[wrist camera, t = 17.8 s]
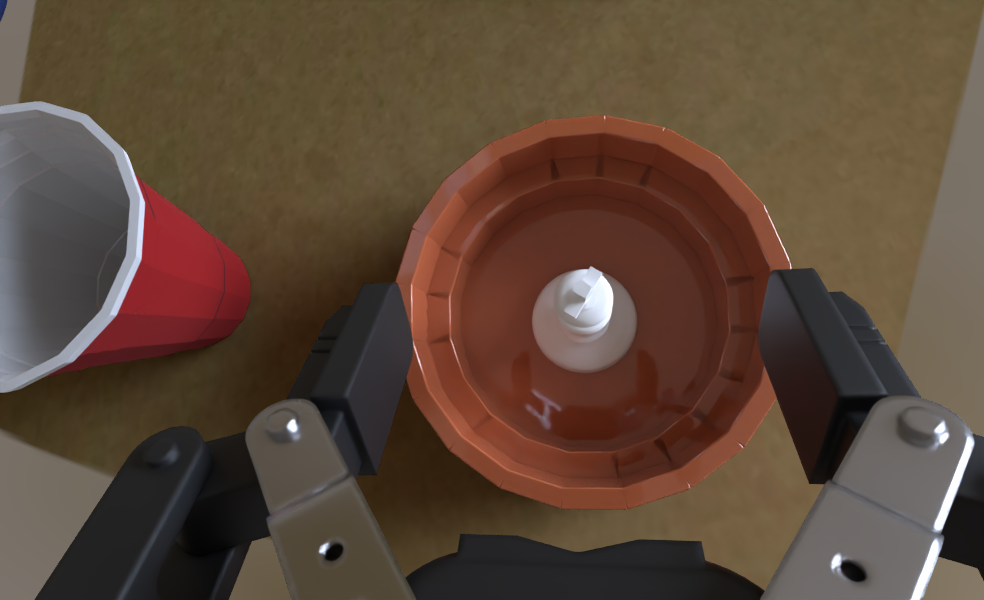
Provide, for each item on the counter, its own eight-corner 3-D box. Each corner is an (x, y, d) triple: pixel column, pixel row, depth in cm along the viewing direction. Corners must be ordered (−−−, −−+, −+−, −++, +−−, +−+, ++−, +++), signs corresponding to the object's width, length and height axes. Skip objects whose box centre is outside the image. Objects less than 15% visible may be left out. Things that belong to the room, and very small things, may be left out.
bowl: (390, 426, 29) (346, 436, 24) (478, 135, 31) (455, 83, 25) (707, 531, 26) (738, 569, 21) (789, 204, 28) (838, 162, 22)
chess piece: (656, 302, 27) (695, 259, 18) (603, 392, 27) (612, 400, 18) (565, 251, 28) (555, 184, 19) (513, 338, 28) (474, 317, 19)
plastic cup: (335, 249, 31) (183, 170, 19) (232, 429, 31) (12, 460, 19) (181, 162, 33) (-40, 43, 21) (83, 329, 33) (-198, 301, 21)
